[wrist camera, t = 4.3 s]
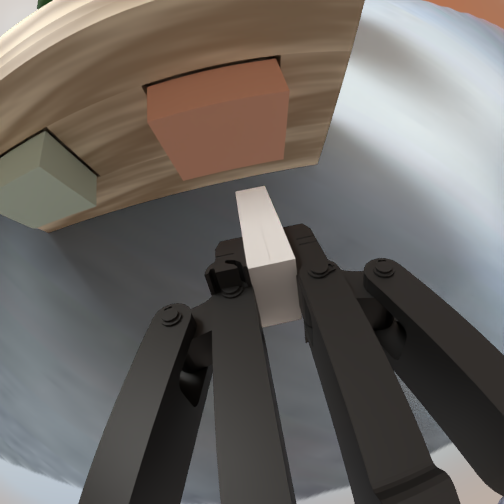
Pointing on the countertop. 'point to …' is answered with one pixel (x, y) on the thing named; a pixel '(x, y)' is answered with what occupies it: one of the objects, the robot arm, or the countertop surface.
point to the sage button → (44, 183)
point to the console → (160, 70)
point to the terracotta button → (221, 117)
